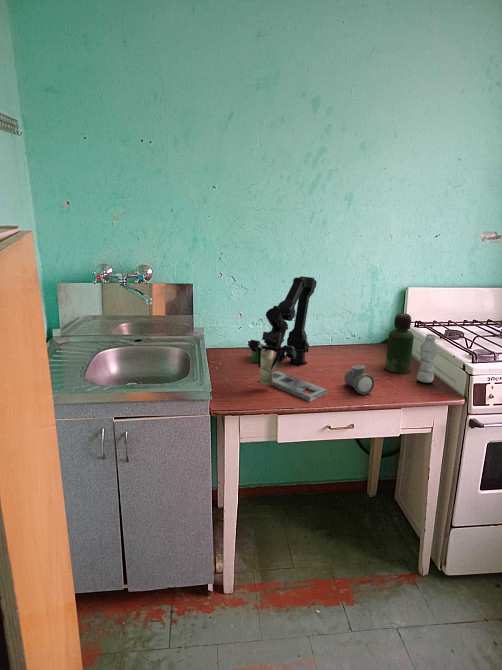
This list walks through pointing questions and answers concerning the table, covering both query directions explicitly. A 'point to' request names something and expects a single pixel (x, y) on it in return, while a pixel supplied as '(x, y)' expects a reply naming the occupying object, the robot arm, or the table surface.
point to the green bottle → (400, 345)
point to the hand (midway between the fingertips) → (265, 368)
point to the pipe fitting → (359, 379)
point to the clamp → (254, 357)
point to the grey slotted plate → (297, 386)
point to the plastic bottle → (427, 359)
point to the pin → (266, 367)
